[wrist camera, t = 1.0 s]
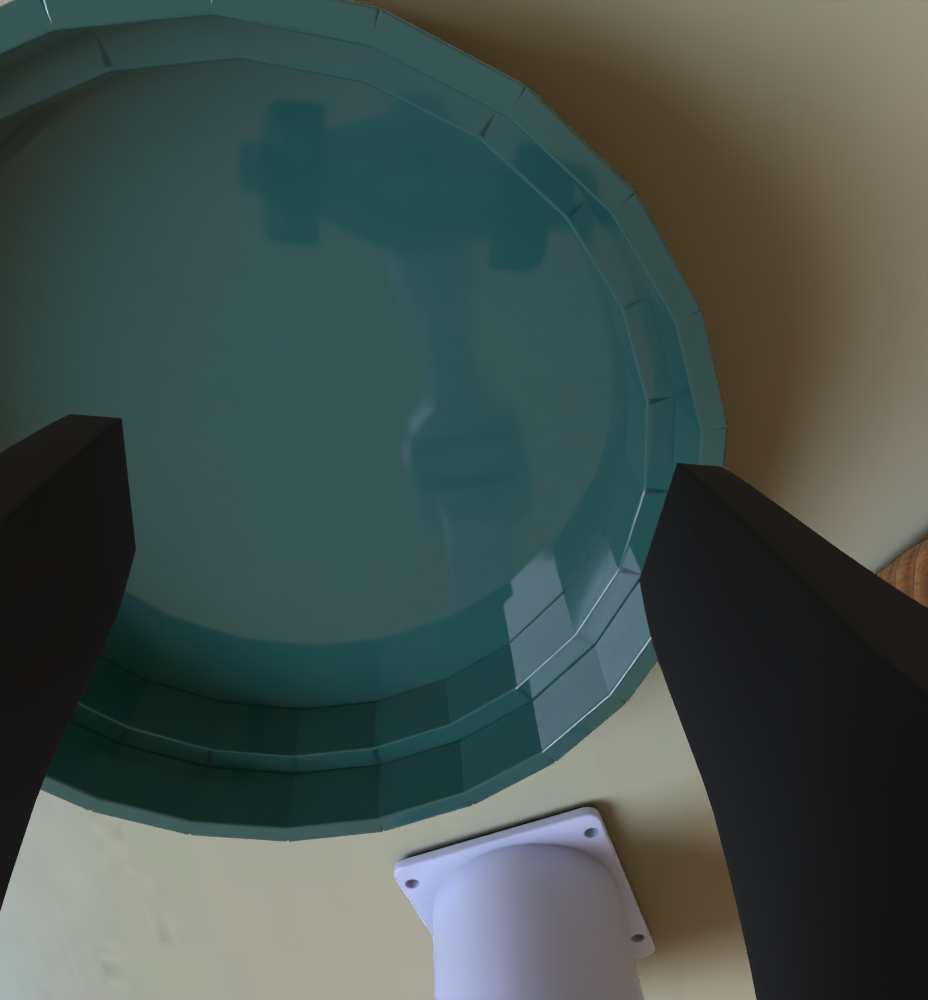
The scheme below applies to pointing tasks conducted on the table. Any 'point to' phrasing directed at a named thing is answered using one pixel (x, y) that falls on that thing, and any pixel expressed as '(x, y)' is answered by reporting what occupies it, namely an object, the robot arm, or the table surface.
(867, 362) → the table surface
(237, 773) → the teal bowl
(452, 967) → the robot arm
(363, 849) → the table surface
